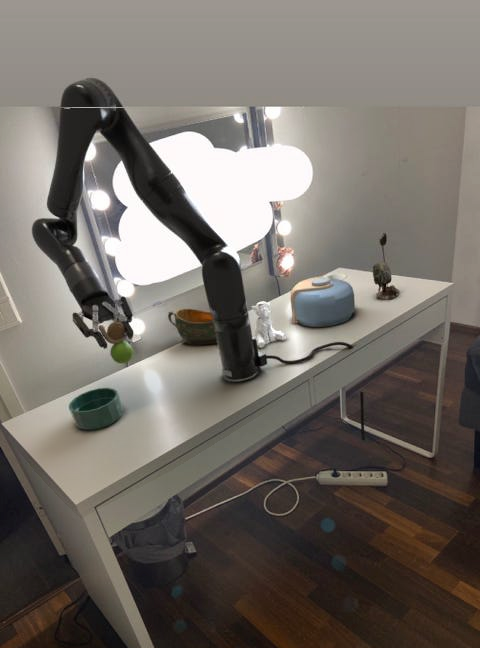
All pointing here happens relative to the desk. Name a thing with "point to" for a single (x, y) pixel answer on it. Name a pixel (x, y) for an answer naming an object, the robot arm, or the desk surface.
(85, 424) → the bowl
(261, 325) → the seated beast figurine
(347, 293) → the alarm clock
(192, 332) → the cup
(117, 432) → the desk surface
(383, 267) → the plant with pod
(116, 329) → the snail figurine
